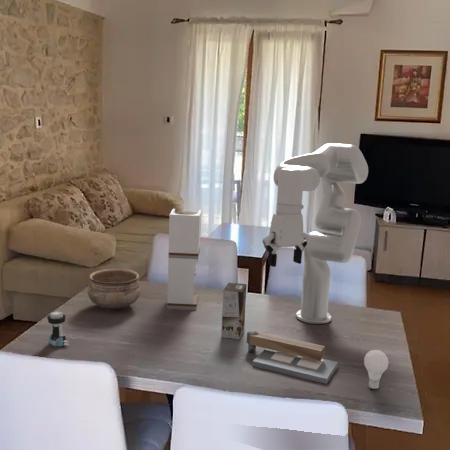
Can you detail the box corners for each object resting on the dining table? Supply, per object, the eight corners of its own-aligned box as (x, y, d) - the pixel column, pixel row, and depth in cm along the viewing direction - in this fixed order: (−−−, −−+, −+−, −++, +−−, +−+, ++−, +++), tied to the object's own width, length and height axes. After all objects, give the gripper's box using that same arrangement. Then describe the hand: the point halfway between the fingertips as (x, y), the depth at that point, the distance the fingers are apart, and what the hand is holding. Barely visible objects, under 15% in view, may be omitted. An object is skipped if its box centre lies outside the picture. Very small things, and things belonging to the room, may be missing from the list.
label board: (267, 350, 178) (267, 345, 177) (337, 367, 169) (338, 361, 168) (252, 365, 167) (252, 359, 167) (326, 383, 158) (326, 377, 158)
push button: (73, 343, 177) (72, 312, 175) (63, 350, 172) (62, 318, 170) (54, 339, 179) (54, 309, 177) (44, 346, 174) (43, 315, 172)
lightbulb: (358, 382, 159) (361, 345, 157) (380, 382, 160) (384, 345, 158) (365, 394, 153) (369, 355, 151) (388, 394, 154) (393, 355, 151)
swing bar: (249, 338, 179) (250, 329, 178) (324, 355, 169) (324, 346, 168) (244, 343, 175) (244, 334, 174) (320, 360, 165) (321, 351, 165)
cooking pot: (110, 293, 223) (110, 263, 221) (153, 301, 217) (154, 270, 214) (71, 314, 201) (71, 280, 198) (118, 323, 194) (118, 289, 191)
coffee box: (240, 339, 185) (242, 292, 182) (220, 337, 186) (222, 289, 183) (244, 329, 194) (247, 283, 191) (226, 327, 195) (228, 281, 192)
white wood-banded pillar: (196, 309, 210) (199, 215, 203) (167, 308, 210) (169, 214, 203) (198, 299, 221) (201, 210, 214) (170, 298, 222) (172, 208, 214)
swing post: (249, 349, 178) (250, 341, 178) (256, 350, 177) (257, 342, 177) (246, 352, 176) (247, 343, 176) (254, 353, 175) (254, 345, 175)
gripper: (303, 206, 181) (298, 258, 184) (258, 208, 172) (254, 263, 175) (318, 210, 175) (314, 264, 178) (273, 212, 165) (269, 270, 169)
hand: (284, 264), depth 176 cm, fingers open, 9 cm apart
